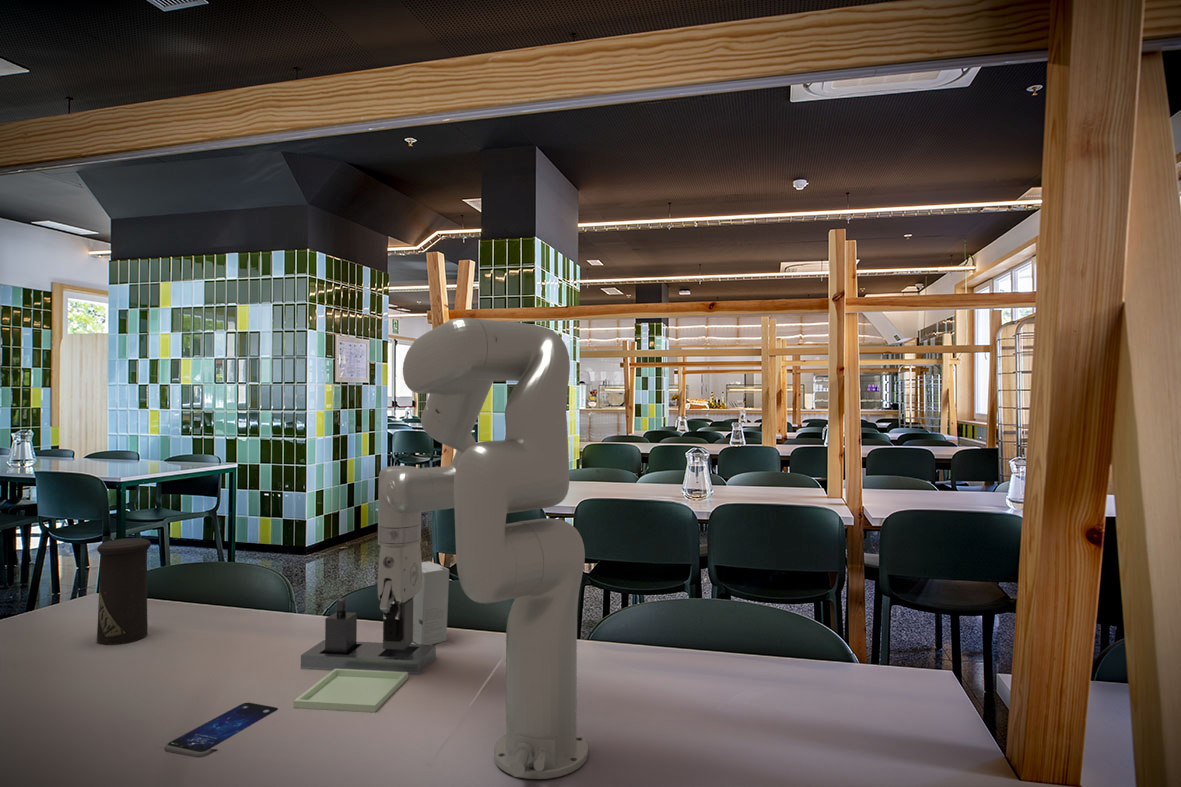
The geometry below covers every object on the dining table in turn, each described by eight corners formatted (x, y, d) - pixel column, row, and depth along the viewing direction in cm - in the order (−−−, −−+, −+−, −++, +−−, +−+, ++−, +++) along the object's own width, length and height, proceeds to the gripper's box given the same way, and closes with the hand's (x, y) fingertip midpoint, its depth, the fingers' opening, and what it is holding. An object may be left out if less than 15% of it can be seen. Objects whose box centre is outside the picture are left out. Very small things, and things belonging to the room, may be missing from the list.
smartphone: (284, 707, 106) (202, 754, 92) (283, 714, 106) (202, 761, 92) (245, 700, 108) (160, 745, 94) (245, 706, 108) (160, 752, 94)
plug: (404, 649, 122) (405, 587, 122) (382, 648, 122) (383, 586, 122) (412, 642, 126) (413, 581, 126) (391, 641, 126) (392, 581, 126)
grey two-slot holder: (420, 677, 119) (420, 608, 119) (300, 671, 122) (301, 604, 122) (435, 660, 127) (436, 596, 127) (323, 655, 130) (323, 592, 130)
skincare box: (402, 637, 140) (402, 564, 140) (428, 631, 144) (429, 559, 144) (422, 648, 134) (423, 571, 134) (449, 641, 138) (450, 566, 138)
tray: (375, 715, 104) (375, 705, 104) (293, 710, 106) (293, 700, 106) (408, 681, 117) (408, 672, 117) (334, 677, 119) (335, 668, 119)
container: (101, 634, 141) (102, 537, 141) (152, 629, 145) (153, 533, 145) (90, 648, 133) (92, 544, 134) (145, 641, 137) (147, 541, 137)
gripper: (401, 544, 116) (400, 654, 115) (435, 527, 132) (434, 622, 132) (359, 543, 116) (357, 651, 116) (398, 526, 133) (397, 621, 133)
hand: (398, 635), depth 124 cm, fingers closed on plug, 4 cm apart
